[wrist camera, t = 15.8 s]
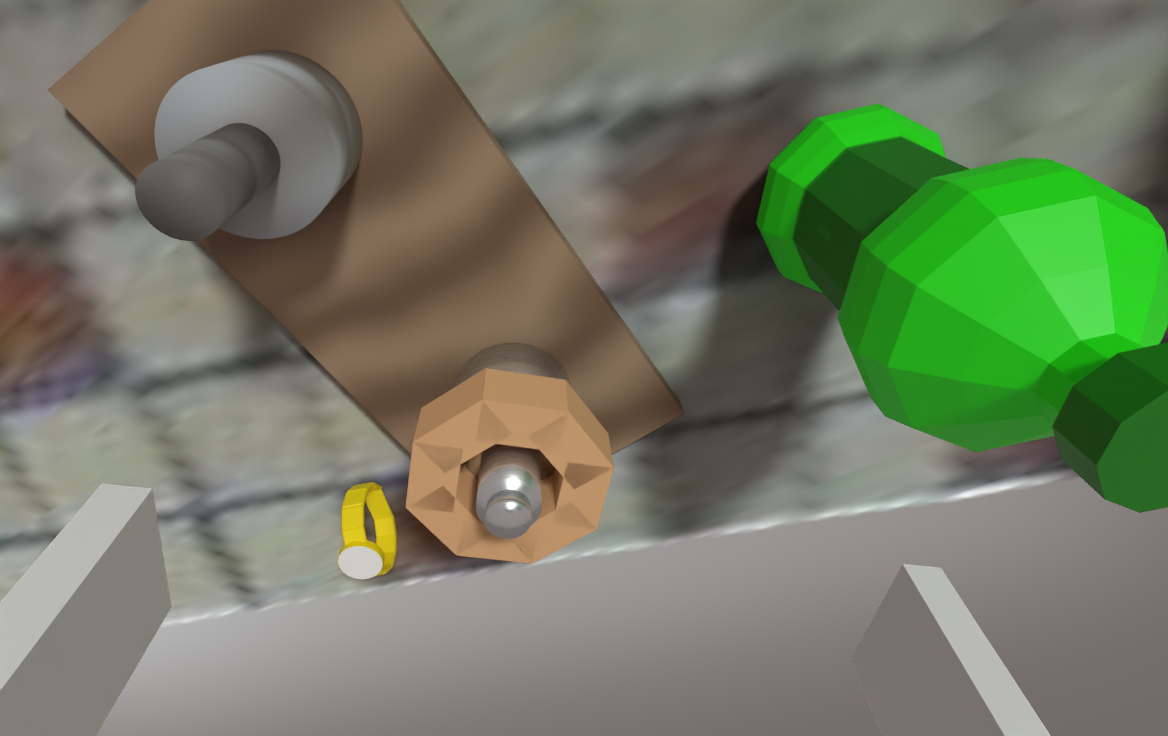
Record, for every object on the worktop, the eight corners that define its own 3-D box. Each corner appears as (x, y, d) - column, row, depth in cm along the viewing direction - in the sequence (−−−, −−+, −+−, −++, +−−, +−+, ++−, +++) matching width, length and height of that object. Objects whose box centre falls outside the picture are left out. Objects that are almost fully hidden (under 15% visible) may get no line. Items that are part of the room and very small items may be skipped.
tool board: (65, 85, 35) (-186, 148, 22) (308, -128, 31) (166, -190, 19) (484, 511, 50) (469, 687, 38) (679, 401, 46) (732, 555, 34)
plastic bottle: (796, 56, 36) (1190, 190, 15) (954, 139, 39) (1488, 356, 17) (702, 229, 40) (900, 531, 19) (851, 293, 43) (1174, 622, 22)
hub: (430, 382, 43) (399, 509, 33) (527, 321, 41) (526, 434, 31) (500, 459, 46) (492, 596, 36) (593, 405, 44) (611, 533, 34)
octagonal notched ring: (409, 511, 40) (400, 549, 37) (427, 359, 35) (418, 390, 32) (581, 531, 41) (585, 569, 39) (620, 388, 37) (627, 420, 34)
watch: (344, 472, 48) (320, 528, 42) (384, 464, 48) (364, 519, 42) (373, 540, 50) (353, 601, 45) (411, 533, 50) (395, 593, 45)
